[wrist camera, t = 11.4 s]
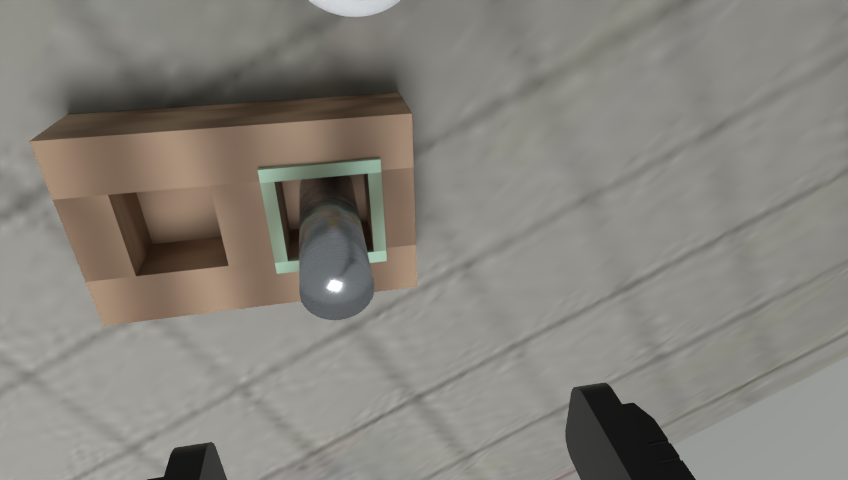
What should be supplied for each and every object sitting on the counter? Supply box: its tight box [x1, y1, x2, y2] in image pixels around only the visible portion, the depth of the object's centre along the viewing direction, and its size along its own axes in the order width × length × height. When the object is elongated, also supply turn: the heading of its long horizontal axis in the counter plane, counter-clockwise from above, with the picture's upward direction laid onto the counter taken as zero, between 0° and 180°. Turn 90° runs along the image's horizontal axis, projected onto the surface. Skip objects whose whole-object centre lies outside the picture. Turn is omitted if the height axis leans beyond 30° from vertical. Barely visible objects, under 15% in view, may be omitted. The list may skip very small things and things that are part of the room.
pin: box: [299, 175, 374, 320], centre depth 31 cm, size 4×4×12 cm
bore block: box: [29, 93, 417, 326], centre depth 34 cm, size 20×12×5 cm, turn 91°
